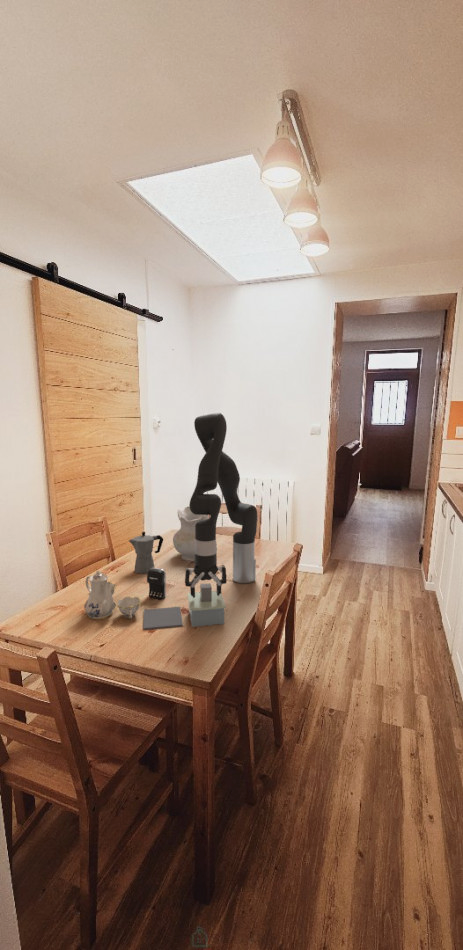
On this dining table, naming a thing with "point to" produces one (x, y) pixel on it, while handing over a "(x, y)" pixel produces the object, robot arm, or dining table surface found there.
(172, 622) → the mat
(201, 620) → the square storage bin
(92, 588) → the chinaware
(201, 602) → the cover
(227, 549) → the dining table surface
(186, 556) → the ceramic pitcher
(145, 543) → the coffeepot
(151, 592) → the black battery charger
